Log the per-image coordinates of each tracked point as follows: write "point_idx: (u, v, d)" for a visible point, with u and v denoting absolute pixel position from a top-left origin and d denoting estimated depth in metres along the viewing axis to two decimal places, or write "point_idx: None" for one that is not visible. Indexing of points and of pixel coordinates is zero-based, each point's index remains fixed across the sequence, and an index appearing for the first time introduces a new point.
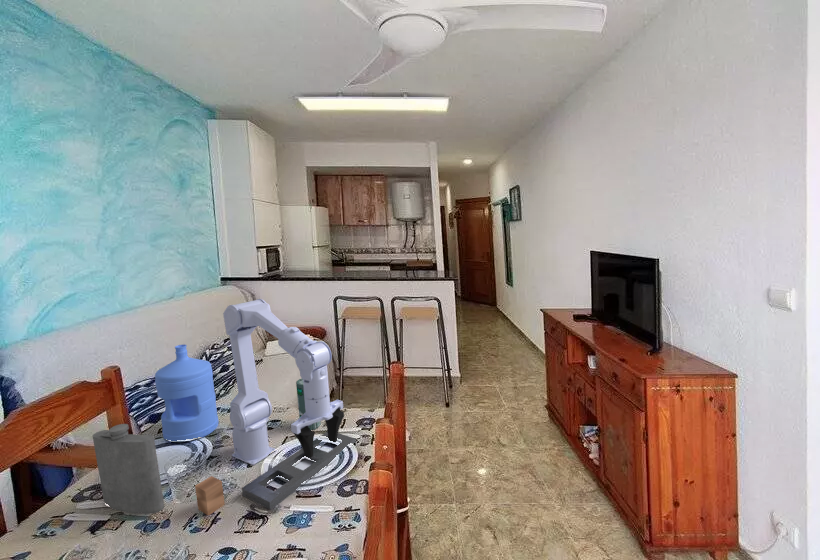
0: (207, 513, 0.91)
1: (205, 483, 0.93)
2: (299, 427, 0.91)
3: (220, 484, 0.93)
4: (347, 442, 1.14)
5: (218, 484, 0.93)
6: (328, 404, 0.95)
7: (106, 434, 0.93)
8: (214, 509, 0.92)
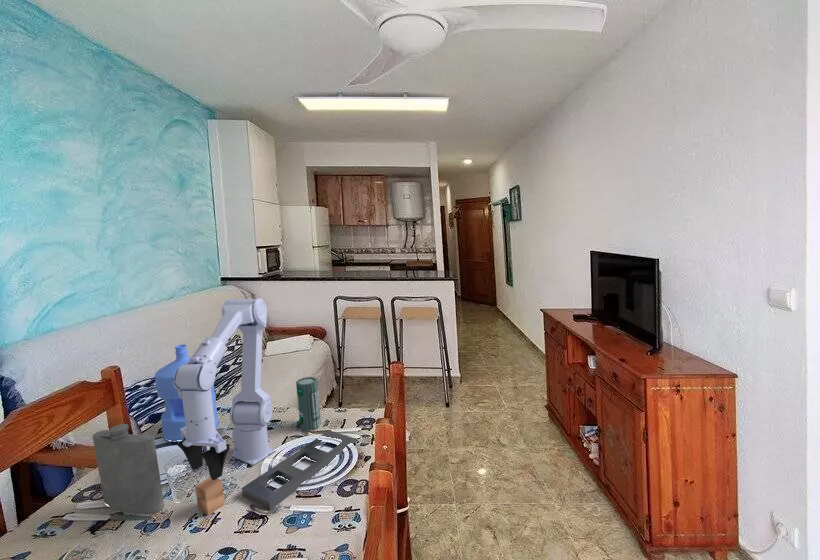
0: (207, 513, 0.91)
1: (205, 483, 0.93)
2: (181, 432, 0.94)
3: (220, 484, 0.93)
4: (347, 442, 1.14)
5: (218, 484, 0.93)
6: (191, 432, 0.88)
7: (106, 434, 0.93)
8: (214, 509, 0.92)
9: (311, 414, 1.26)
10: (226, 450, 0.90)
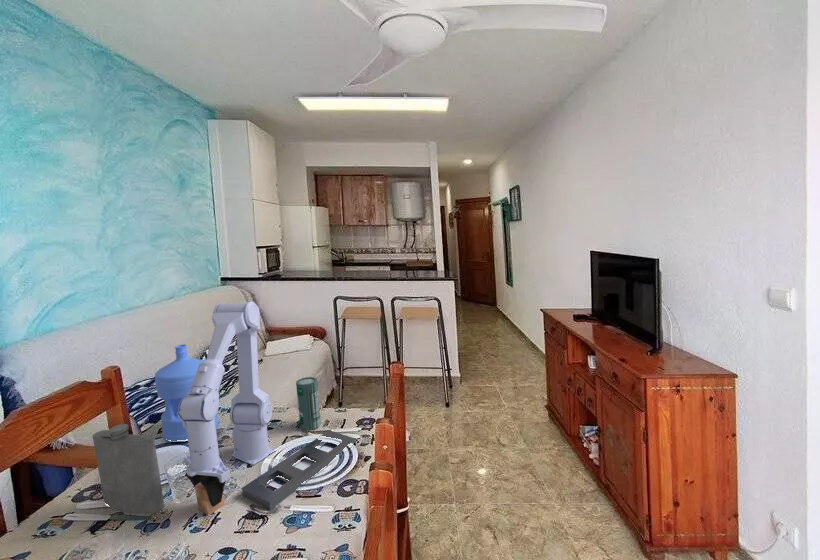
0: (207, 513, 0.91)
1: None
2: (185, 460, 0.95)
3: None
4: (347, 442, 1.14)
5: None
6: (195, 461, 0.89)
7: (106, 434, 0.93)
8: (214, 509, 0.92)
9: (311, 414, 1.26)
10: None
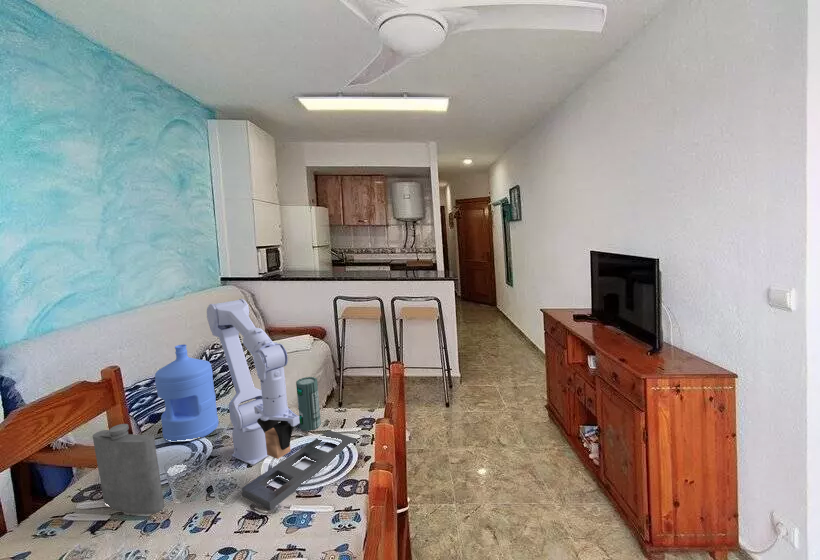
0: (276, 457, 1.00)
1: (273, 430, 1.01)
2: (255, 409, 1.04)
3: None
4: (347, 442, 1.14)
5: None
6: (268, 408, 0.98)
7: (106, 434, 0.93)
8: (282, 454, 1.01)
9: (311, 414, 1.26)
10: None
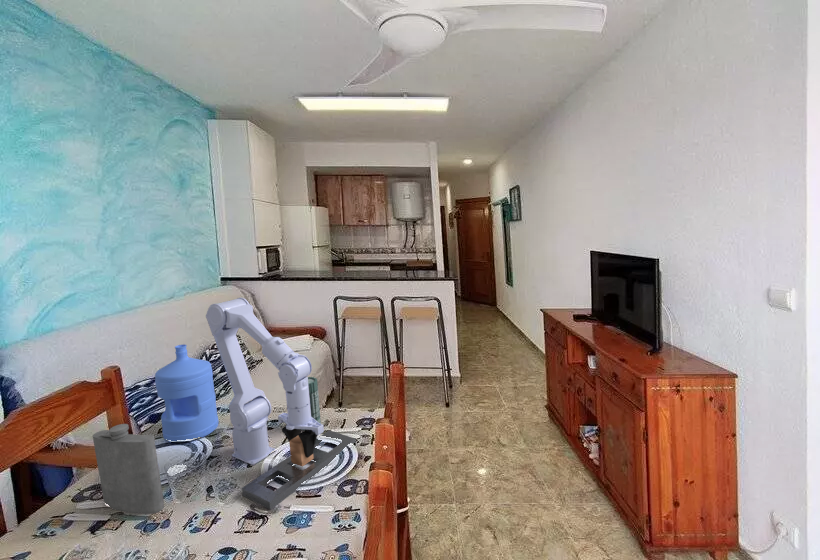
0: (301, 464, 1.04)
1: (297, 439, 1.05)
2: (279, 418, 1.08)
3: None
4: (347, 442, 1.14)
5: None
6: (294, 417, 1.02)
7: (106, 434, 0.93)
8: (306, 461, 1.05)
9: (311, 414, 1.26)
10: None
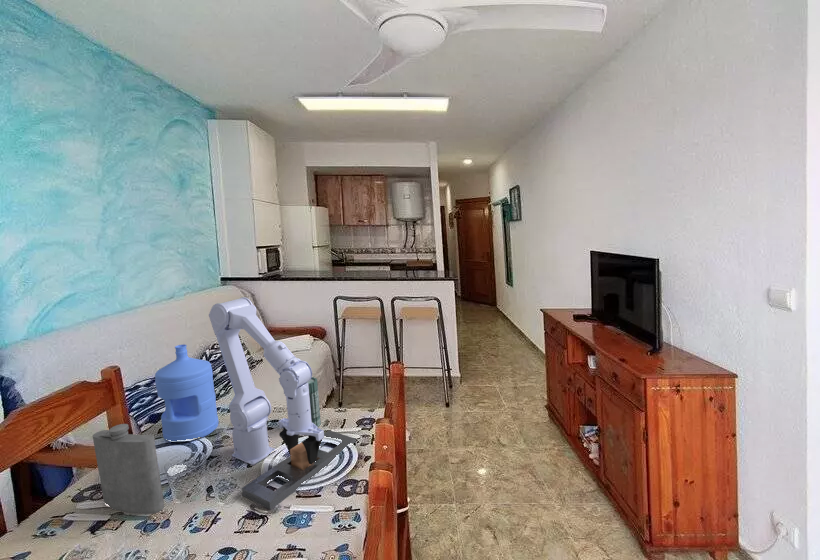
0: None
1: (298, 447, 1.06)
2: (280, 423, 1.08)
3: None
4: (347, 442, 1.14)
5: None
6: (294, 423, 1.02)
7: (106, 434, 0.93)
8: None
9: (311, 414, 1.26)
10: (321, 438, 1.04)
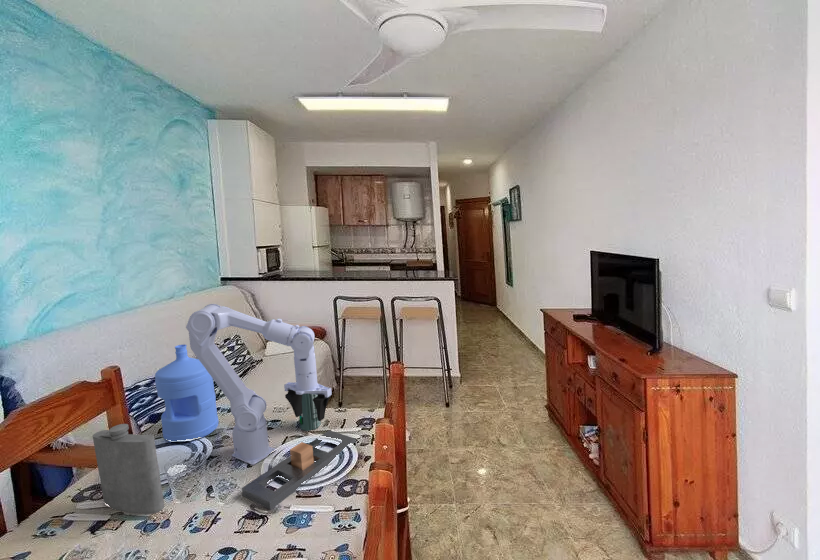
0: None
1: (298, 447, 1.06)
2: (286, 386, 1.15)
3: (311, 448, 1.06)
4: (347, 442, 1.14)
5: (310, 448, 1.06)
6: (303, 383, 1.10)
7: (106, 434, 0.93)
8: None
9: (311, 414, 1.26)
10: (329, 396, 1.13)
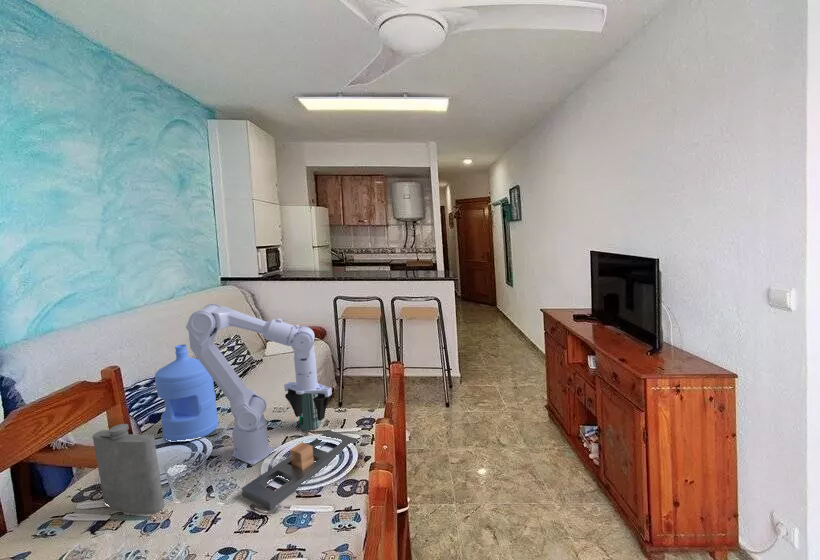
0: None
1: (298, 447, 1.06)
2: (286, 386, 1.15)
3: (311, 448, 1.06)
4: (347, 442, 1.14)
5: (310, 448, 1.06)
6: (303, 382, 1.10)
7: (106, 434, 0.93)
8: None
9: (311, 414, 1.26)
10: (329, 396, 1.13)
